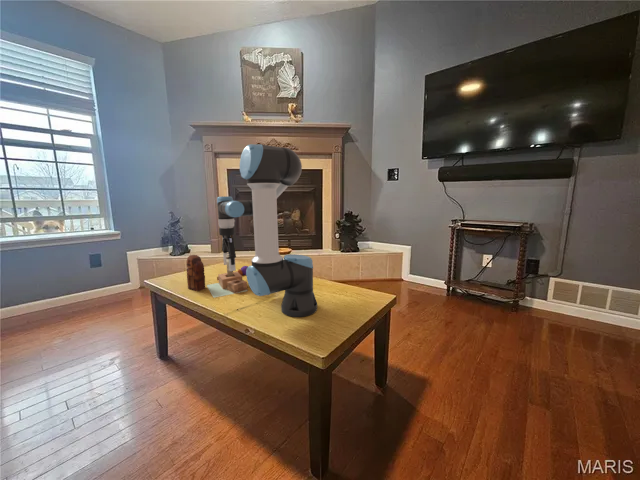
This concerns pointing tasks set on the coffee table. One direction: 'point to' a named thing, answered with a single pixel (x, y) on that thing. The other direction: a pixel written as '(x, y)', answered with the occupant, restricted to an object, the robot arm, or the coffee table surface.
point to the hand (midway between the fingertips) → (229, 267)
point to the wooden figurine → (195, 273)
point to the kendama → (241, 271)
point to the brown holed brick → (237, 285)
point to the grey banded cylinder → (228, 267)
